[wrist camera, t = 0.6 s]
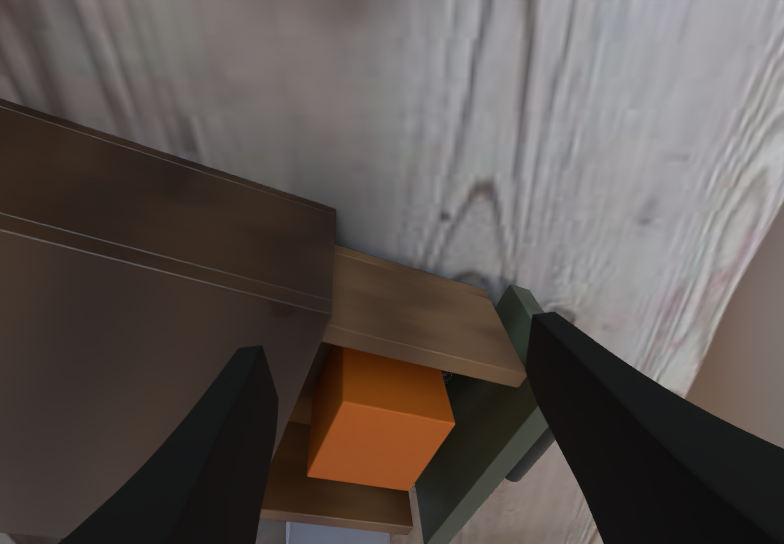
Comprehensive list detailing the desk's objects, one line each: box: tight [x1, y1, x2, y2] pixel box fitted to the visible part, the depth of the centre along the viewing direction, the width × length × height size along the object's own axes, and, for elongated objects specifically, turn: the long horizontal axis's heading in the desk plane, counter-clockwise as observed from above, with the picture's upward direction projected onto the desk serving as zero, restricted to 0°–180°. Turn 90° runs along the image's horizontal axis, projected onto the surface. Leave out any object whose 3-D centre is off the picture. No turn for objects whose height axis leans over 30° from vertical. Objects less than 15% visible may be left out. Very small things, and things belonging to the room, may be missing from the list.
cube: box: [307, 344, 455, 491], centre depth 20 cm, size 5×5×5 cm
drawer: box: [260, 245, 556, 544], centre depth 21 cm, size 18×13×6 cm
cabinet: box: [0, 99, 336, 538], centre depth 17 cm, size 14×14×8 cm
